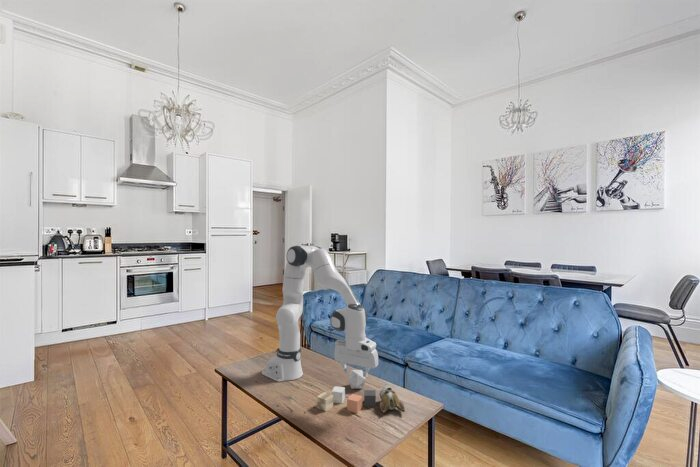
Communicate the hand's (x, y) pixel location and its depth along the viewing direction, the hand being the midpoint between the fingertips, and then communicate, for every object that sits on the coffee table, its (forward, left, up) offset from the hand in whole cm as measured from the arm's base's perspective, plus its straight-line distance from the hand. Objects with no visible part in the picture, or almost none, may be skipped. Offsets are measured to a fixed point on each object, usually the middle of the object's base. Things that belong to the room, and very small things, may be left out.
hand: (355, 374), depth 138 cm
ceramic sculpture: (+13, +8, -15) cm, 22 cm away
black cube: (+4, +7, -15) cm, 17 cm away
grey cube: (-10, +3, -15) cm, 18 cm away
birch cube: (-12, -5, -15) cm, 20 cm away
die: (-8, +18, -15) cm, 25 cm away
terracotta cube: (0, 0, -15) cm, 15 cm away
